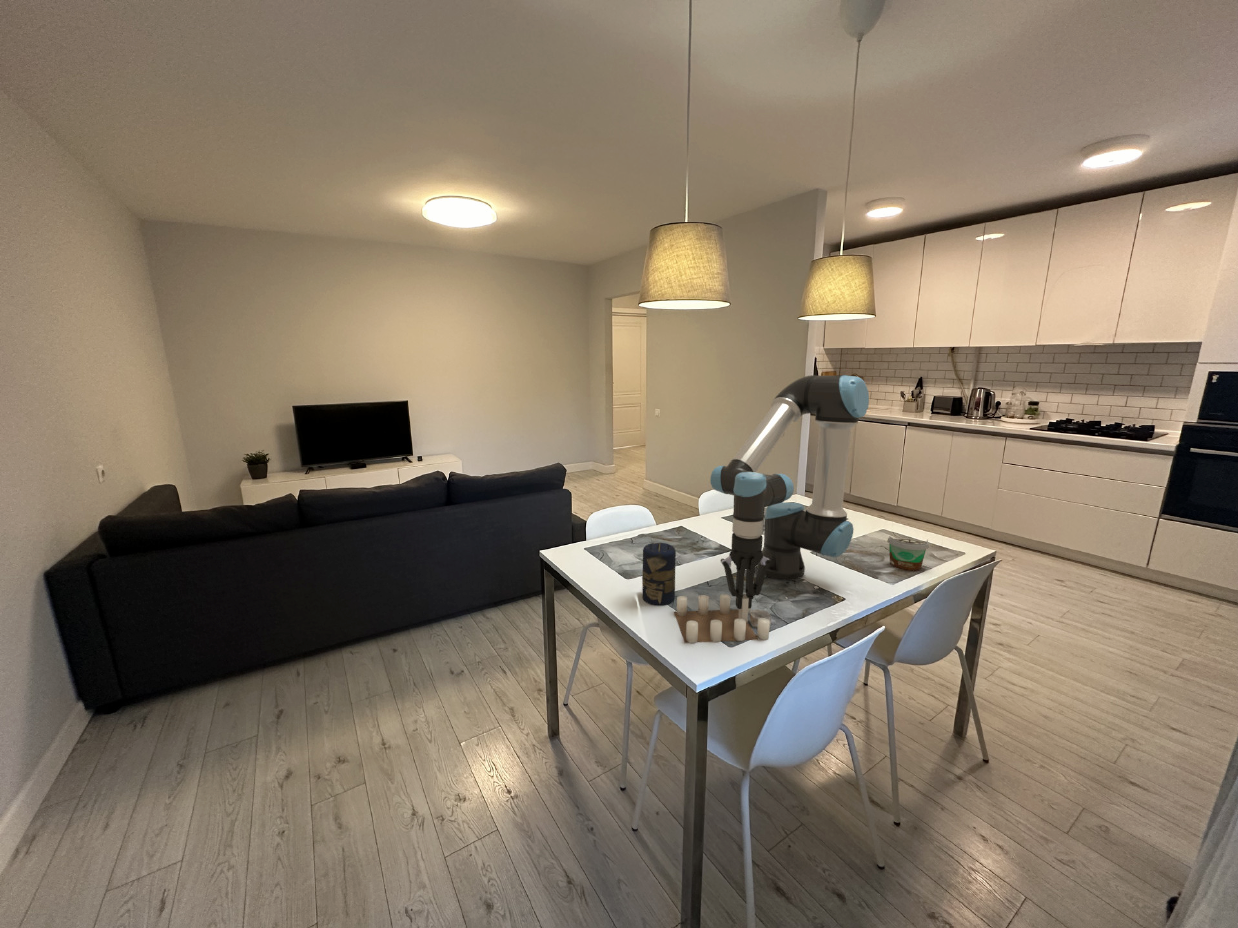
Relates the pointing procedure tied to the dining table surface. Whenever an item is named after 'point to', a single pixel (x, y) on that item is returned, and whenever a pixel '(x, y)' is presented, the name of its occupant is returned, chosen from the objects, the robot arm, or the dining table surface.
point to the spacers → (717, 624)
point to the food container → (907, 553)
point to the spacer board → (705, 623)
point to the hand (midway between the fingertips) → (742, 619)
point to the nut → (756, 615)
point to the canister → (658, 574)
